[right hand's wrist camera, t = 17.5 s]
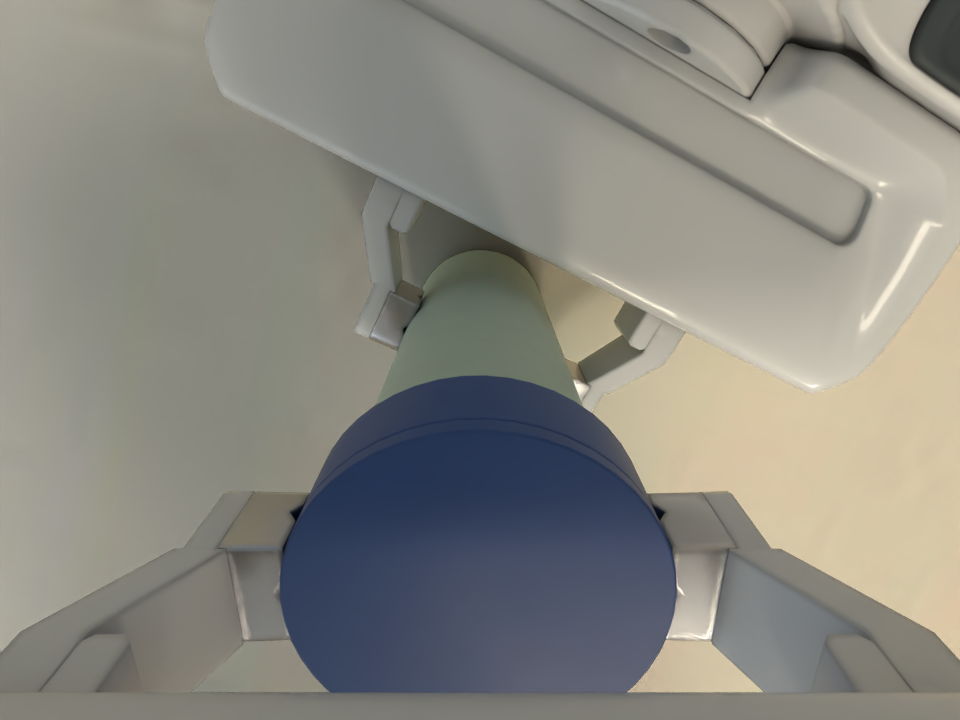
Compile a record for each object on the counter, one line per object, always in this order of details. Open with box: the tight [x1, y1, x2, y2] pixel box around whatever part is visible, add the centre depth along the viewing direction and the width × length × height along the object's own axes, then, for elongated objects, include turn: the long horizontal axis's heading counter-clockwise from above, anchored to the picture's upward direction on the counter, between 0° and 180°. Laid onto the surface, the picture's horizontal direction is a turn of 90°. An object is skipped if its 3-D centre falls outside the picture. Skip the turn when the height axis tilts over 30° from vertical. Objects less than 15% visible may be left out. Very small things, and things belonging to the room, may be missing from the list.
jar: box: [376, 250, 583, 407], centre depth 16 cm, size 5×5×15 cm
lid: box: [279, 375, 677, 693], centre depth 10 cm, size 6×6×2 cm
